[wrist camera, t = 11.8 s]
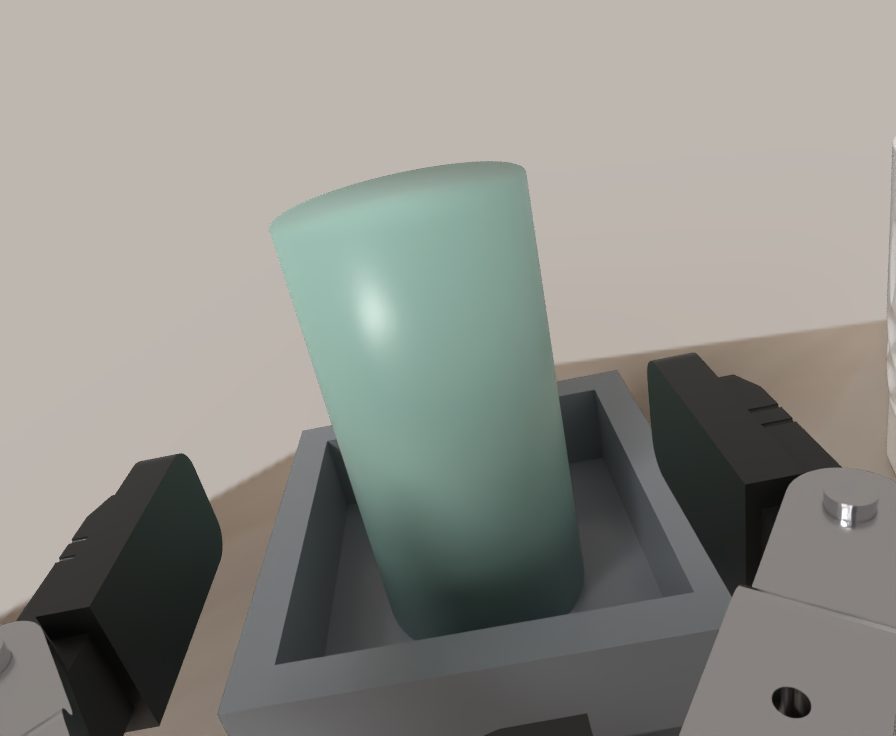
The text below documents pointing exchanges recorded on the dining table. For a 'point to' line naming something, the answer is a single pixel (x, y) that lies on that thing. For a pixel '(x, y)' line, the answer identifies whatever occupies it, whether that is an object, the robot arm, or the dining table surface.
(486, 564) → the mint green cylinder
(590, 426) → the dish
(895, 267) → the white cup
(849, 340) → the dining table surface
